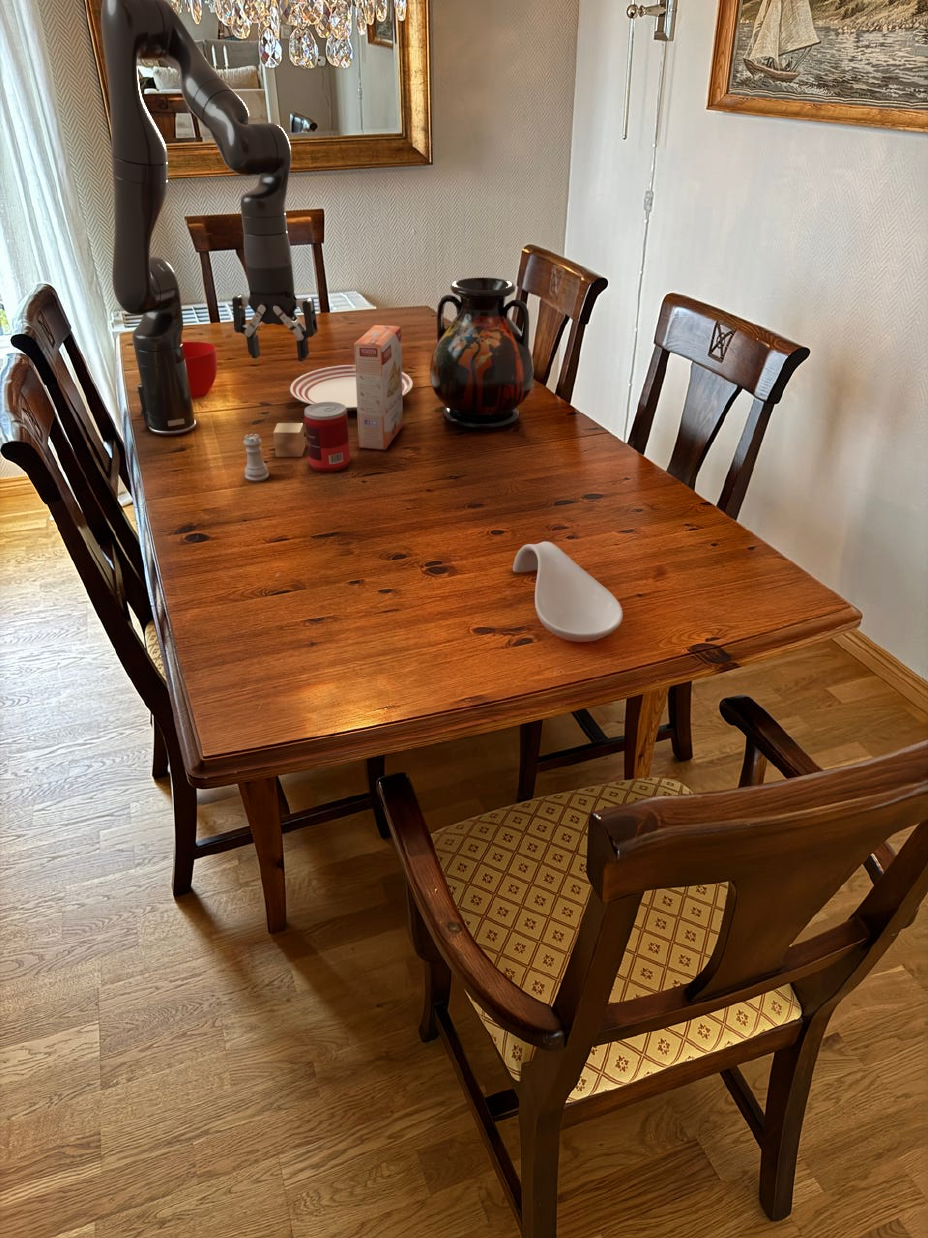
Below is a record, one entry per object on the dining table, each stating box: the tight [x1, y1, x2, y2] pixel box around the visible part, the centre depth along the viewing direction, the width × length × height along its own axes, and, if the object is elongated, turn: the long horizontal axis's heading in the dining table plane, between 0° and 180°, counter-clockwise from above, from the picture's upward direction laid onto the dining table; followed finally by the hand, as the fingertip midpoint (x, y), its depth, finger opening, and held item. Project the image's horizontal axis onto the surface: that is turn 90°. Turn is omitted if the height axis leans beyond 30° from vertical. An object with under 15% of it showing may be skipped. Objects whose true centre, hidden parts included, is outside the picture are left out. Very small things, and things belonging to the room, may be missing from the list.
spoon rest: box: [512, 541, 624, 643], centre depth 126 cm, size 24×12×7 cm, turn 21°
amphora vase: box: [429, 276, 535, 433], centre depth 184 cm, size 22×22×28 cm
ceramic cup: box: [182, 341, 218, 399], centre depth 204 cm, size 13×17×10 cm
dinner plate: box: [289, 364, 414, 412], centre depth 202 cm, size 28×27×3 cm
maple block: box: [272, 422, 306, 458], centre depth 175 cm, size 5×5×5 cm
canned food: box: [303, 402, 351, 473], centre depth 168 cm, size 8×8×11 cm
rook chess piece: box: [242, 433, 270, 483], centre depth 164 cm, size 4×4×8 cm
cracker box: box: [353, 324, 404, 451], centre depth 177 cm, size 14×6×21 cm, turn 168°
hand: (279, 358), depth 157 cm, fingers open, 8 cm apart
